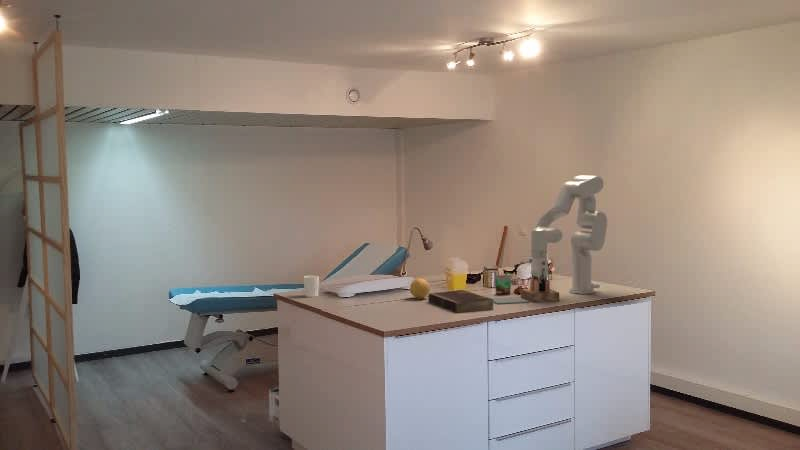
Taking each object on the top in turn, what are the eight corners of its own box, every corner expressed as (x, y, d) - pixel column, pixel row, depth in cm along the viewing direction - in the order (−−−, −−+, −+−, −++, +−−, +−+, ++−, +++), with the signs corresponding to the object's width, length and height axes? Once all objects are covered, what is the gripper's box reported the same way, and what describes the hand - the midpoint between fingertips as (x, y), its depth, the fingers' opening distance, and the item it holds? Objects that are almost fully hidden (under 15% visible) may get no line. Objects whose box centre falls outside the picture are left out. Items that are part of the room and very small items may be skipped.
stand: (546, 295, 364) (546, 279, 363) (559, 300, 350) (559, 283, 350) (520, 297, 360) (520, 280, 360) (532, 302, 347) (532, 285, 346)
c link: (543, 289, 359) (543, 278, 359) (549, 291, 352) (549, 280, 352) (530, 290, 358) (530, 279, 357) (536, 292, 351) (536, 281, 350)
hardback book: (428, 303, 350) (428, 292, 349) (462, 299, 357) (462, 289, 357) (456, 313, 323) (456, 302, 323) (493, 310, 331) (493, 299, 330)
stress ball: (428, 298, 363) (415, 284, 367) (436, 285, 357) (423, 271, 361) (415, 304, 356) (402, 290, 360) (423, 291, 350) (410, 277, 354)
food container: (505, 296, 365) (505, 276, 364) (494, 294, 368) (494, 275, 367) (516, 292, 374) (516, 273, 374) (506, 291, 378) (506, 272, 377)
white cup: (320, 294, 372) (320, 275, 371) (317, 297, 364) (317, 277, 363) (305, 294, 372) (305, 275, 372) (302, 297, 365) (301, 277, 364)
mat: (518, 297, 358) (518, 296, 358) (529, 302, 346) (529, 301, 346) (487, 299, 355) (487, 298, 355) (497, 304, 342) (497, 303, 342)
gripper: (554, 255, 346) (553, 292, 347) (538, 251, 363) (538, 286, 364) (539, 256, 344) (539, 293, 346) (524, 252, 361) (524, 287, 362)
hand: (538, 289), depth 355 cm, fingers closed on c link, 7 cm apart
